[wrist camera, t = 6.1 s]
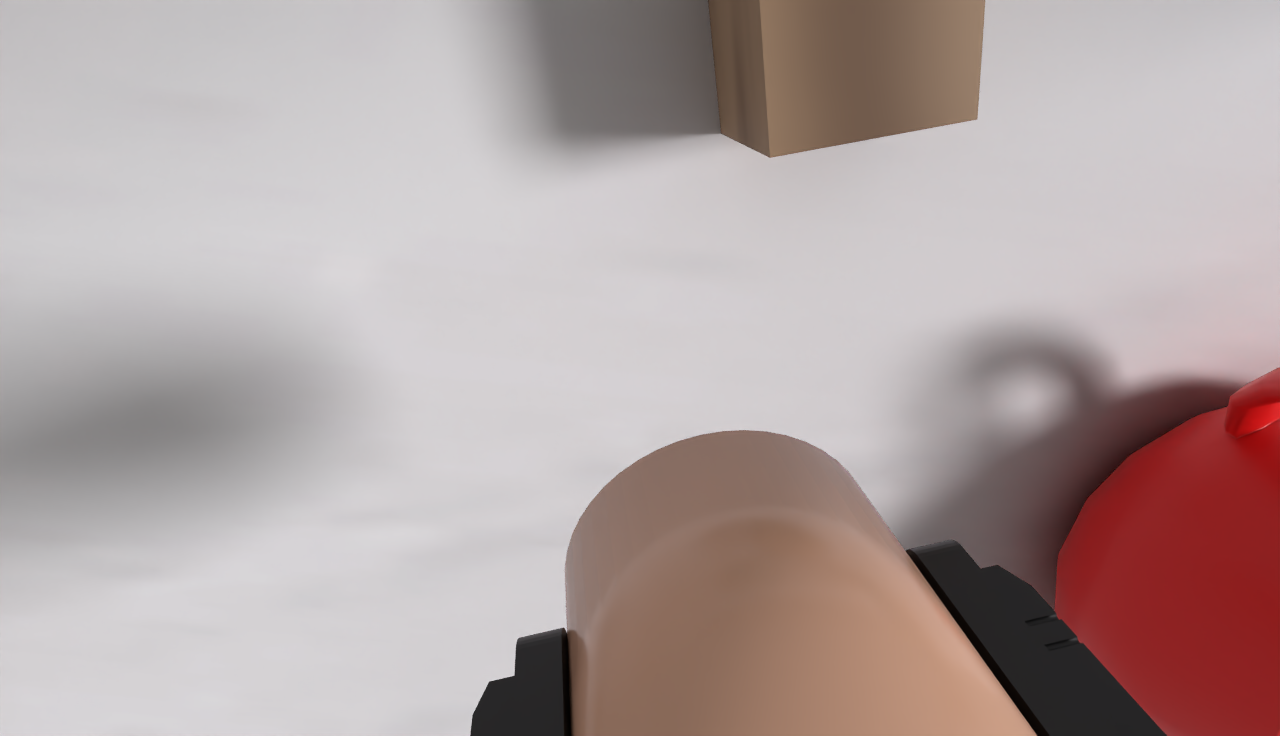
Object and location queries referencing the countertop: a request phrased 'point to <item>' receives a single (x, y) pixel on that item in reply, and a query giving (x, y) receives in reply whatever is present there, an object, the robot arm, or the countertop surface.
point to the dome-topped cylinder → (760, 606)
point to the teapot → (1188, 571)
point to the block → (843, 69)
